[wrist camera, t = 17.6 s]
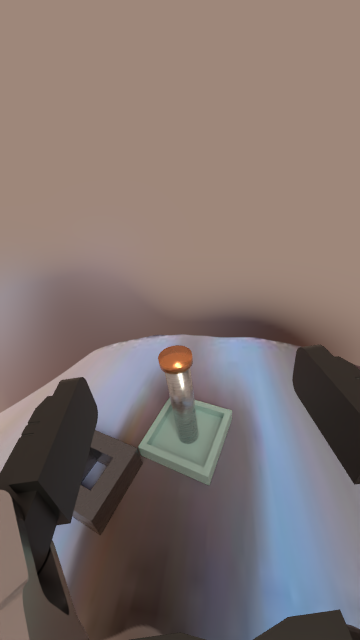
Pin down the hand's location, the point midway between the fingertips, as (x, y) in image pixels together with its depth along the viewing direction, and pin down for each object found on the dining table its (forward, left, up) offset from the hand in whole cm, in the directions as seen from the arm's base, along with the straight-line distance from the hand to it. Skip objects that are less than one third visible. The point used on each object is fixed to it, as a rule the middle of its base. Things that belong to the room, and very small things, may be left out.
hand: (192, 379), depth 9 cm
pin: (-16, -11, -31) cm, 37 cm away
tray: (-16, -11, -32) cm, 38 cm away
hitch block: (-4, -21, -32) cm, 39 cm away
